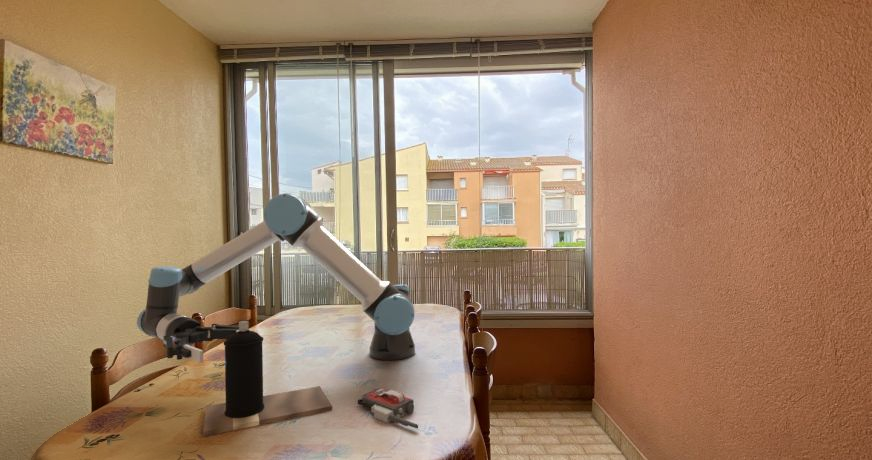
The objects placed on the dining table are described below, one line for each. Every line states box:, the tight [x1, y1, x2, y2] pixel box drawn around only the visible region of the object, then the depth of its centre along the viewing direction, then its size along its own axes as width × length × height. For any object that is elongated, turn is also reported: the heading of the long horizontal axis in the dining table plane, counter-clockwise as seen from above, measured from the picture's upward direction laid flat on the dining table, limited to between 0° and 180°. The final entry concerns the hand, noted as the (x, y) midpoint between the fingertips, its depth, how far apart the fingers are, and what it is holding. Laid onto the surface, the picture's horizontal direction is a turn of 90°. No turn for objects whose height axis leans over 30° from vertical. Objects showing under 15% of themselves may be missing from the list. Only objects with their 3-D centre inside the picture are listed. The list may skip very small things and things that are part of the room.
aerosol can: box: [223, 320, 264, 418], centre depth 95 cm, size 8×8×20 cm
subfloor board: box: [202, 385, 333, 437], centre depth 97 cm, size 26×14×1 cm, turn 117°
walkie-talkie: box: [356, 388, 419, 430], centre depth 94 cm, size 9×4×20 cm
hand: (229, 348), depth 102 cm, fingers open, 13 cm apart
